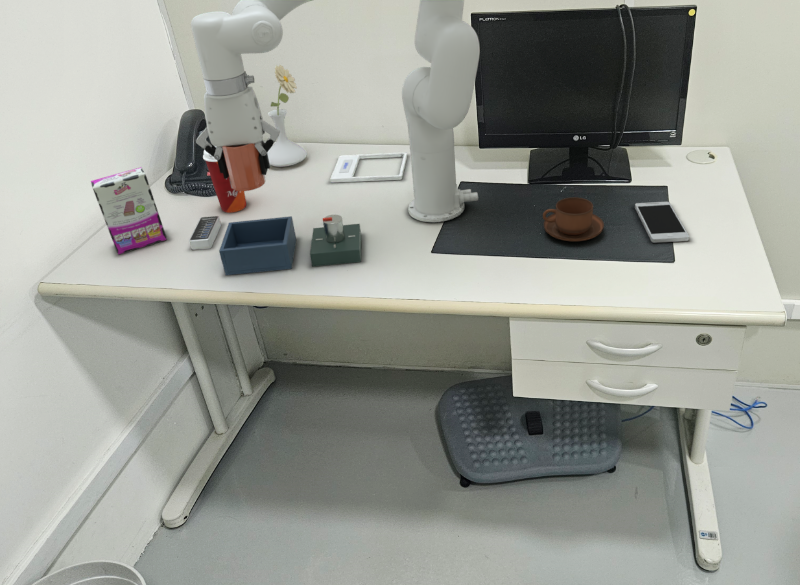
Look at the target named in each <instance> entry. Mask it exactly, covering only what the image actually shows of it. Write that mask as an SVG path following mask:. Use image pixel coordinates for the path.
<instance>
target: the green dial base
mask: <svg viewBox="0 0 800 585" xmlns="http://www.w3.org/2000/svg"><path fill="white" fill-rule="evenodd" d="M343 227H344V234H345V238H344V240H342V241H340V242H337V243H330V242H327V241H326V237H325V232H324V226H322V227H313V229H312V234H311V242H310V250H309V257H310V262H311V267H312V268H313V267H323V266H332V265H342V264H343V265H344V264H352V263H355V264H356V263H361V262H362V232H361V224H360V223H352V224H343Z"/></svg>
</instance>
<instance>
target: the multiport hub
mask: <svg viewBox="0 0 800 585" xmlns="http://www.w3.org/2000/svg"><path fill="white" fill-rule="evenodd" d="M221 227H222V223H221V219H220V215H214V216H213V215H212V216H201V217H200V218H199V220H198V222H197V224H196V226H195V228H194V229H193V231H192V233H191V236H190V237H189V240H188V241H189V245H190V249H191V250H193V251H195V250H196V251H197V250H207V249H211V248H213V245H214V243H215V241H216V239H217V236H218V234H219V231H220V230H221Z"/></svg>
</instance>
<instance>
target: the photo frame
mask: <svg viewBox="0 0 800 585" xmlns="http://www.w3.org/2000/svg"><path fill="white" fill-rule="evenodd" d="M381 158H382V159H384V158H388V159H389V158H402V161H401V166H400V169H399V173H398V174H394V175H371V176H370V175H369V176H368V175H367V176H354V175H355V173H356V170H357V168H358V165H359V162H360V160H363V159H381ZM407 159H408V152H388V153H387V152H386V153H385V152H384V153H364V154H363V153H361V154H343V155H342V154H341V155H339V156H338V159H337V161H336V164H335V166H334V168H333V170H332V173H331V176H330V178H329V182H330V183H353V182H376V181H377V182H379V181H399V180H400V181H401V180H403V177H404V172H405V168H406V163H407Z"/></svg>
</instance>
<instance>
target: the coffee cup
mask: <svg viewBox="0 0 800 585" xmlns="http://www.w3.org/2000/svg"><path fill="white" fill-rule="evenodd" d="M215 147H217V146H215ZM202 158H203V160H204V161H205V163H206V166H207V170H208V173H209V176H210V179H211V182H212V186H213V187H214V191H215V194H216V197H217V200H218V203H219V206H220V208H221V211H222V212H224V213H229V214H230V213H238V212H240V211H243V210H244V209H245V208H246V207H247V200H246V199H247V198H246V194H245V193H246V192H245V191H236V190H234V189H232V187H231V184H230V181H229V177H228V178H227V179H224V176H223V173H220V170H219V166H218V162H217V160H216V159H215V158H214V157H213V156H212V155H210V154H209V153H208V152H206V151H205V149H204V150H203V155H202Z"/></svg>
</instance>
